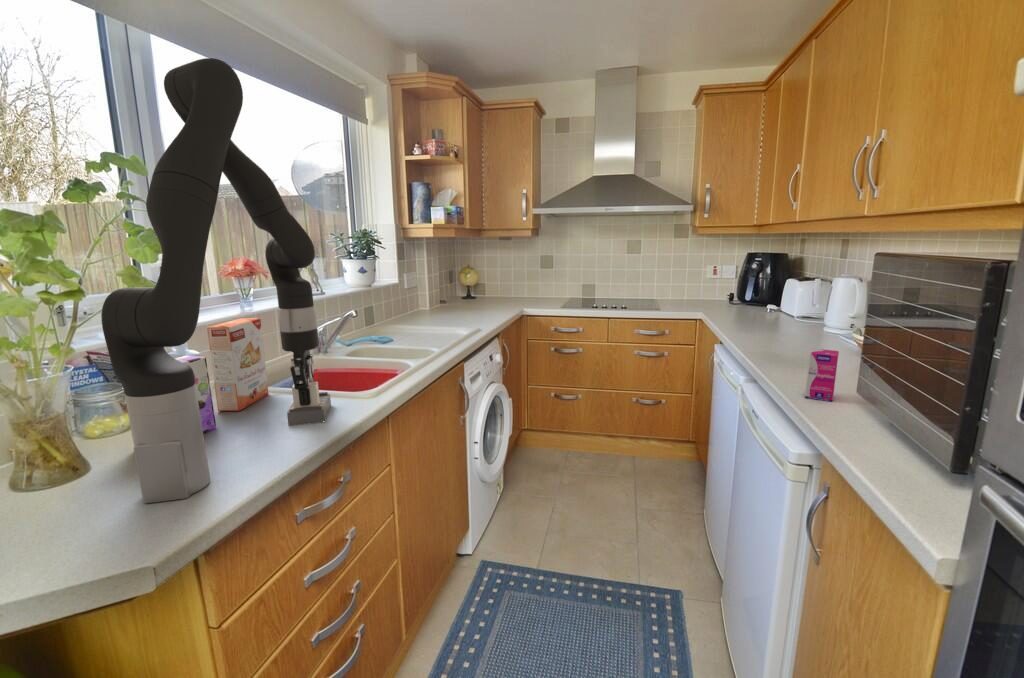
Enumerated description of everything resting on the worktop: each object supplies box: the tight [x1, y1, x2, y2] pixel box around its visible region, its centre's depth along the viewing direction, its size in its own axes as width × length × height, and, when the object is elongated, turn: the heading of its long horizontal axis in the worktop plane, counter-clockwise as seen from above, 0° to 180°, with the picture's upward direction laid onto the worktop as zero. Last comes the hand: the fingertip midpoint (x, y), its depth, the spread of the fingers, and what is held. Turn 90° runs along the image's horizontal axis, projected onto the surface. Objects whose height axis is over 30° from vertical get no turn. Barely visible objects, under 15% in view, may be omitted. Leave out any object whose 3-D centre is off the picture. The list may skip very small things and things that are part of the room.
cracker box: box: [206, 317, 269, 412], centre depth 122 cm, size 14×6×21 cm, turn 179°
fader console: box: [286, 391, 332, 427], centre depth 114 cm, size 12×8×4 cm, turn 13°
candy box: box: [173, 355, 217, 434], centre depth 100 cm, size 14×6×16 cm, turn 161°
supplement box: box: [804, 347, 840, 403], centre depth 118 cm, size 6×6×12 cm
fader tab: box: [291, 381, 320, 408], centre depth 110 cm, size 3×5×5 cm, turn 103°
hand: (306, 402), depth 110 cm, fingers closed on fader tab, 3 cm apart
